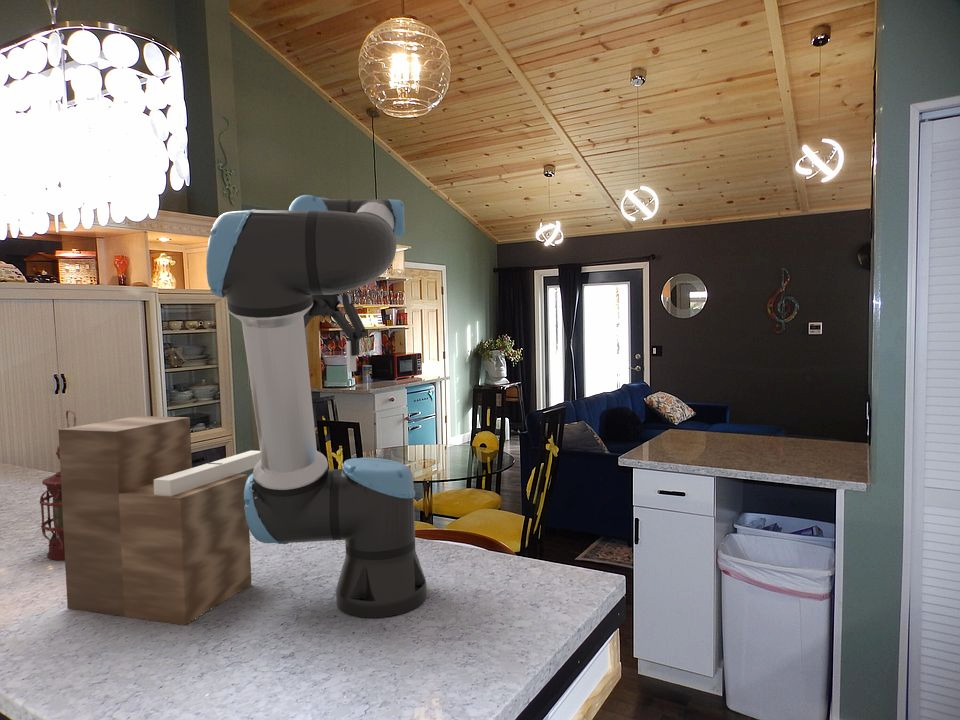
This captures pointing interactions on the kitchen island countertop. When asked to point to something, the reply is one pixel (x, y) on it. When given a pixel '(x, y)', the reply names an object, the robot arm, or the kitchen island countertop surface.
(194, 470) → the domino bar
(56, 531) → the lantern
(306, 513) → the robot arm
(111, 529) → the two tier stand
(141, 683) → the kitchen island countertop surface
